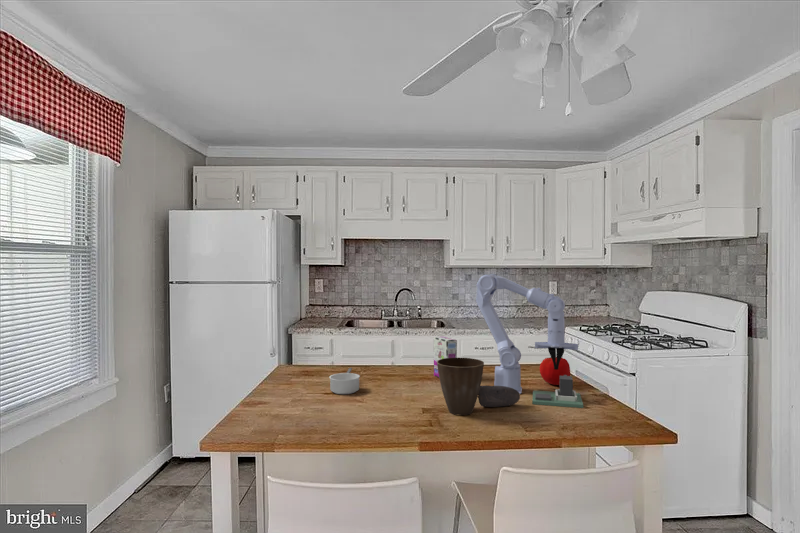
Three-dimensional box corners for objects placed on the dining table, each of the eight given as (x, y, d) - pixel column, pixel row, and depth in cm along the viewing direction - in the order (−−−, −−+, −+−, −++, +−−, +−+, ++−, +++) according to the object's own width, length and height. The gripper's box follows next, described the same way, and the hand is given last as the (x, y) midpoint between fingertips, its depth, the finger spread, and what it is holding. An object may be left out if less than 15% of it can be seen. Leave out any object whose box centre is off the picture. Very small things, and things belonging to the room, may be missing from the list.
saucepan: (364, 381, 193) (364, 367, 193) (358, 395, 173) (358, 380, 173) (336, 381, 194) (336, 367, 194) (326, 395, 174) (326, 380, 174)
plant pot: (429, 407, 159) (429, 359, 158) (469, 402, 164) (469, 355, 164) (450, 421, 145) (449, 368, 144) (493, 415, 150) (493, 364, 150)
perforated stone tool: (517, 403, 163) (517, 382, 163) (523, 407, 158) (522, 386, 158) (474, 404, 162) (474, 384, 161) (478, 409, 156) (478, 388, 156)
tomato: (575, 388, 181) (574, 358, 181) (544, 388, 181) (544, 358, 181) (564, 380, 193) (564, 352, 193) (535, 380, 193) (535, 352, 193)
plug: (560, 399, 163) (560, 379, 163) (559, 394, 169) (559, 374, 169) (572, 400, 162) (572, 379, 162) (571, 395, 168) (571, 375, 168)
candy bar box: (457, 380, 194) (457, 339, 194) (446, 381, 192) (446, 340, 192) (443, 374, 204) (443, 335, 204) (433, 375, 202) (433, 336, 202)
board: (532, 404, 162) (532, 396, 162) (532, 393, 175) (532, 386, 175) (583, 408, 157) (583, 400, 157) (579, 396, 171) (579, 389, 170)
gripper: (534, 331, 170) (534, 370, 170) (578, 333, 166) (578, 372, 166) (535, 329, 176) (535, 366, 177) (577, 330, 172) (577, 368, 173)
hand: (556, 369), depth 172 cm, fingers closed
